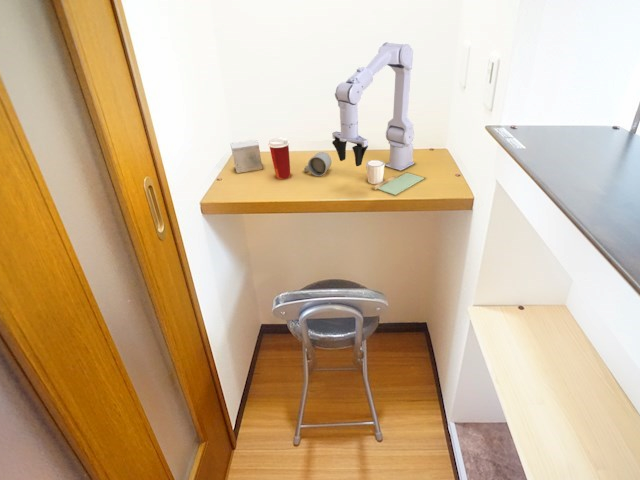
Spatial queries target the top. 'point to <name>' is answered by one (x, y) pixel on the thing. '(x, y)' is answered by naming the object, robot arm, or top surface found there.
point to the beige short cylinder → (375, 171)
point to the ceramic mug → (319, 164)
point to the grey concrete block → (246, 156)
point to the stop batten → (383, 182)
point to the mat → (400, 183)
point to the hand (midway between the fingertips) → (350, 162)
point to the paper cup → (280, 157)
